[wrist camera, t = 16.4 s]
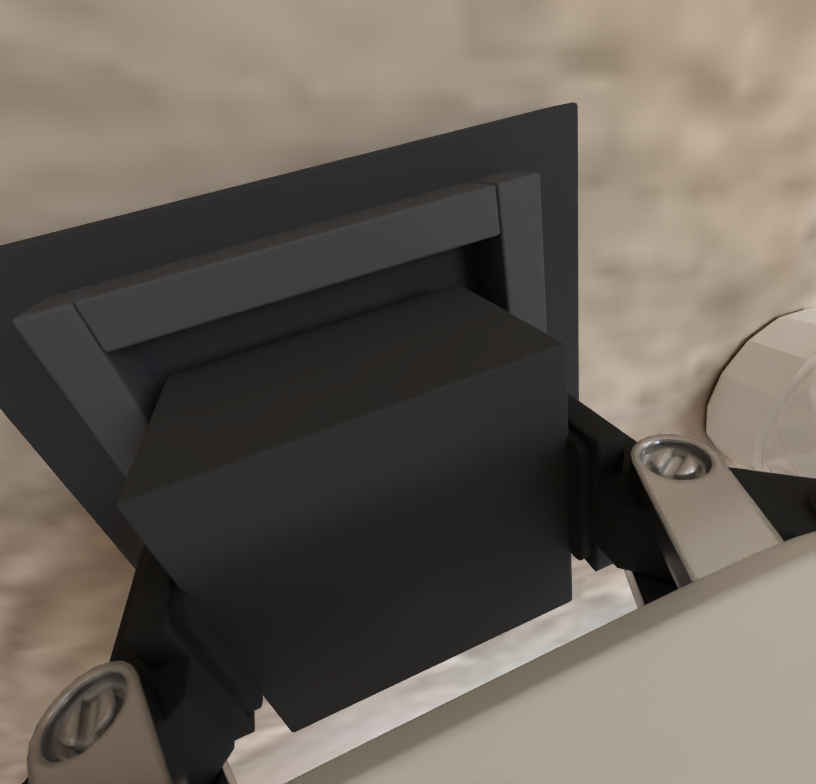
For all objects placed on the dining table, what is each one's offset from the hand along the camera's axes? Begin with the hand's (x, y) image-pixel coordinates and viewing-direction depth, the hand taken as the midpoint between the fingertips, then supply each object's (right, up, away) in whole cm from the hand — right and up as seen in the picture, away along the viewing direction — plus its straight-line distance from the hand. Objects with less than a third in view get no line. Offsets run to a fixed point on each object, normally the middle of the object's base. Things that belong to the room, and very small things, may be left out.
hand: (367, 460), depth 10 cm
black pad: (0, 0, +1) cm, 1 cm away
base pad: (-1, +1, +2) cm, 3 cm away
